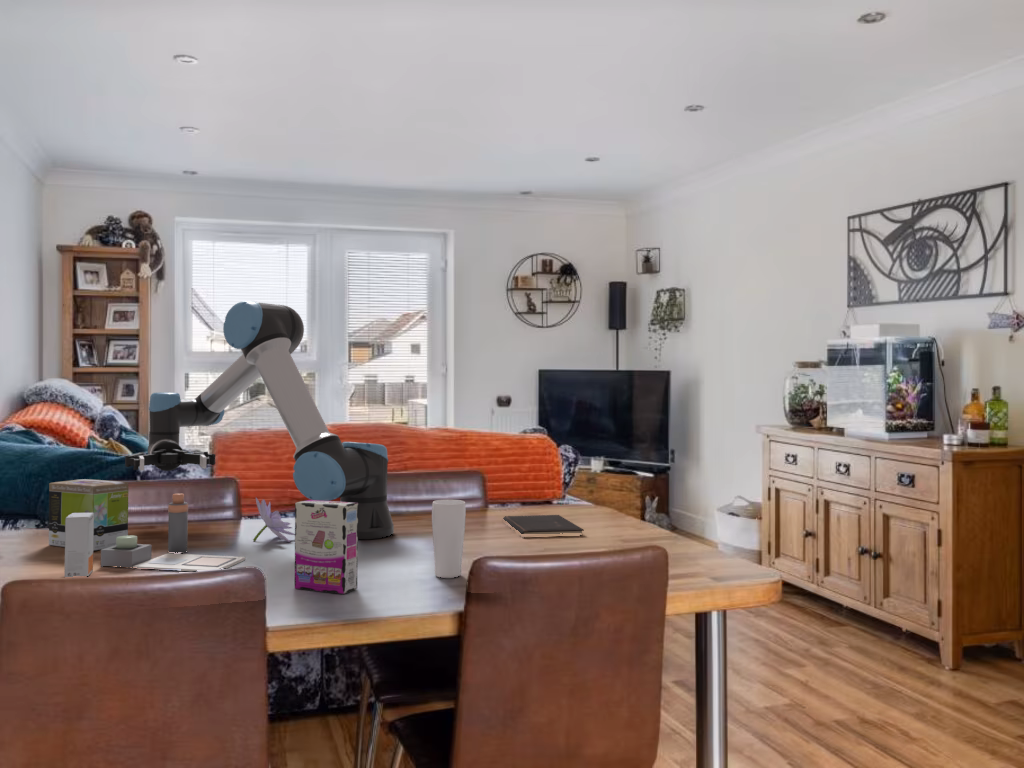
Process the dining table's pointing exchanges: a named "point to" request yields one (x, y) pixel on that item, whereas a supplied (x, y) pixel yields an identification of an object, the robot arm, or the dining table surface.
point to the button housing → (126, 556)
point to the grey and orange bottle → (177, 524)
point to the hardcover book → (542, 524)
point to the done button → (126, 542)
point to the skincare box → (79, 544)
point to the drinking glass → (448, 536)
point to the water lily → (272, 521)
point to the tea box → (89, 509)
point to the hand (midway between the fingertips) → (174, 463)
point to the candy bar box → (326, 546)
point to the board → (190, 562)
